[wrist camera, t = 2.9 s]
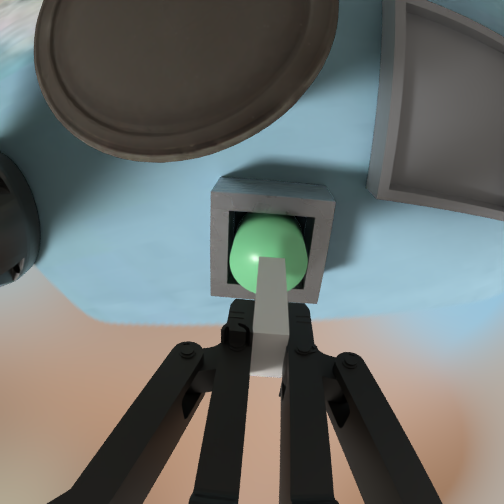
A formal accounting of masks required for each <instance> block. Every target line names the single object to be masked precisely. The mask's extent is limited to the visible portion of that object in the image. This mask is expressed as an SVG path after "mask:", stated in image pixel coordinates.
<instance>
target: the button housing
mask: <svg viewBox="0 0 504 504" xmlns="http://www.w3.org/2000/svg"><path fill="white" fill-rule="evenodd" d="M335 205H336V201H335V200H334V198H333V196H332V195H331V193H330V192H329V190H328V188H327V187H326V186H324V185H315V184H305V183H295V182H284V181H272V180H259V179H245V178H229V177H220V178H219V180H218V181H217V183H216V185H215V186H214V188H213V189H212V191H211V224H210V269H211V296H220V297H231V298H242V299H254V300H255V298H256V293H253V292H251V291H249V290H247V289H245V288H244V287H242V286H241V285H240V284H239V283H238V282H237V281H236V279H235V278H234V276H233V274H232V272H231V269H230V254H231V250H232V246H233V242H234V216H235V211H243V212H256V213H269V214H281V215H293V216H304V217H306V223H305V230H304V237H303V239H304V243H305V248H306V253H307V258H308V265H307V270H306V273H305V275H304V277H303V278H302V280H301V281H300V282H299V283H298V284H297V285H296V286H295V287H294V288H292V289H291V290H289V291H287V300H288V302H296V303H312V304H317V302H318V297H319V292H320V287H321V282H322V277H323V272H324V267H325V262H326V257H327V251H328V246H329V240H330V235H331V229H332V223H333V217H334V211H335Z"/></svg>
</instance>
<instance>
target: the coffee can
mask: <svg viewBox="0 0 504 504" xmlns="http://www.w3.org/2000/svg"><path fill="white" fill-rule="evenodd" d="M338 12H339V0H44V1H43V3H42V6H41V9H40V12H39V16H38V19H37V23H36V29H35V37H34V63H35V70H36V75H37V79H38V83H39V86H40V89H41V91H42V94H43V96H44V98H45V100H46V102H47V104H48V106H49V107H50V109H51V111H52V112H53V114H54V115H55V116H56V118H57V119H58V120H59V121H60V122H61V123H62V125H63V126H64V127H65V128H66V129H67V130H69V131H70V132H71V133H72V134H73V135H74V136H75V137H77V138H78V139H80V140H81V141H83V142H84V143H86V144H87V145H89V146H91V147H93V148H95V149H97V150H99V151H101V152H103V153H106V154H109V155H112V156H115V157H118V158H122V159H127V160H132V161H140V162H158V163H163V162H173V161H183V160H188V159H194V158H199V157H203V156H206V155H210V154H213V153H216V152H219V151H221V150H224V149H226V148H229V147H231V146H234V145H236V144H238V143H240V142H242V141H244V140H246V139H248V138H250V137H252V136H253V135H255V134H257V133H259V132H260V131H262V130H263V129H265V128H266V127H268V126H269V125H271V124H272V123H273V122H275V121H276V120H277V119H279V118H280V117H281V116H282V115H284V114H285V113H286V112H287V111H288V110H289V109H290V108H291V107H292V106H293V105H294V104H295V103H296V102H297V101H298V100H299V99H300V97H301V96H302V95H303V94H304V93H305V91H306V90H307V89H308V88H309V87H310V85H311V84H312V83H313V81H314V80H315V78H316V77H317V75H318V74H319V72H320V71H321V69H322V67H323V65H324V63H325V61H326V59H327V57H328V55H329V52H330V49H331V47H332V44H333V41H334V38H335V33H336V29H337V22H338Z"/></svg>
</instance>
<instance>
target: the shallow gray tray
mask: <svg viewBox="0 0 504 504" xmlns="http://www.w3.org/2000/svg"><path fill="white" fill-rule="evenodd" d="M366 189H367V190H368V191H369V192H370V193H371V194H372V195H373V196H374V197H375V198H376V199H380V200H387V201H394V202H401V203H408V204H414V205H420V206H427V207H433V208H439V209H444V210H450V211H455V212H461V213H466V214H471V215H477V216H482V217H487V218H491V219H496V220H501V221H504V37H503V36H501V35H499V34H498V33H496V32H494V31H492V30H490V29H489V28H487V27H485V26H483V25H481V24H479V23H477V22H475V21H473V20H471V19H469V18H467V17H465V16H463V15H460V14H458V13H456V12H454V11H452V10H449V9H447V8H445V7H442V6H440V5H437V4H435V3H432V2H430V1H427V0H382V42H381V61H380V76H379V88H378V99H377V109H376V118H375V127H374V135H373V143H372V150H371V157H370V164H369V170H368V177H367V183H366Z"/></svg>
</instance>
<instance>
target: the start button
mask: <svg viewBox="0 0 504 504" xmlns="http://www.w3.org/2000/svg"><path fill="white" fill-rule="evenodd" d="M259 256H260V257H273V258H285V267H286V283H287V291H289V290H291V289H292V288H294V287H295V286H296V285H297V284H298V283H299V282H300V281H301V280H302V278H303V277H304V275H305V273H306V270H307V265H308V258H307V253H306V248H305V243H304V239H303V234H302V229H301V226H300V224H299V222H298V220H297V219H296V218H295V217H294V216H293V215H281V214H269V213H256V212H248V213H247V214H246V215H245V216H244V217H243V218H242V219H241V220H240V222H239V224H238V227H237V230H236V234H235V238H234V242H233V246H232V250H231V254H230V269H231V272H232V274H233V276H234V278H235V279H236V281H237V282H238V283H239V284H240V285H241V286H242V287H244V288H245V289H247V290H249V291H251V292H253V293H256V286H257V275H258V264H259Z"/></svg>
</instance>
